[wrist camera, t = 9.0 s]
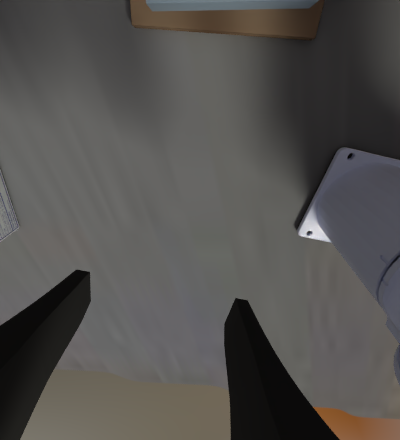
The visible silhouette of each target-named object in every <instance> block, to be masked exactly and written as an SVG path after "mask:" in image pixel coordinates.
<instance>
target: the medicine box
mask: <svg viewBox="0 0 400 440" xmlns="http://www.w3.org/2000/svg"><path fill="white" fill-rule="evenodd" d="M18 228H19V223H18V220H17V217H16V214H15V212H14V208H13V205H12V202H11V199H10V196H9V193H8V190H7V187H6V184H5V181H4V178H3V175H2V172H1V169H0V242H1V241H2V240H4V239H5V238H6V237H8V236H9V235H10V234H12V233H13V232H14V231H16V230H17V229H18Z"/></svg>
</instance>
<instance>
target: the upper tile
mask: <svg viewBox="0 0 400 440" xmlns="http://www.w3.org/2000/svg"><path fill="white" fill-rule="evenodd" d="M318 1H319V0H146V4H147V5H148V6H149V8H150V9H151V10H152V11H199V10H251V9H303V8H310V7H312V6H313V5H314V4H315V3H316V2H318Z"/></svg>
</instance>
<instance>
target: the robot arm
mask: <svg viewBox="0 0 400 440" xmlns="http://www.w3.org/2000/svg"><path fill="white" fill-rule="evenodd" d="M350 153H352V156H351V157H350V158H349V159H348V158H347V157H348V155H349V154H350ZM308 231H311V232H310V233H307V232H308ZM297 233H298V234H299V235H300V236H302V237H307V238H312V239H317V240H321V241H326V242H331V243H332V244H333V245H334V246H335V248H336V249H337V250H338V251H339V253H340V254H341V255H342V257H343V258H344V259H345V261H346V262H347V263H348V264H349V266H350V267H351V268H352V270H353V271H354V272H355V274H356V275H357V276H358V277H359V279H360V280H361V281H362V283H363V284H364V285H365V287H366V288H367V289H368V290H369V292H370V293H371V294H372V296H373V297H374V298H375V300H376V301H377V302H378V303H379V305H380V306H381V307H382V308H383V310H384V311H385V313H386V314H387V322H386V326H387V327H388V329H389V330H390V331H391V333H392V334H393V335H394V337H395V338H396V340H397V341H398V342H399V344H400V160H398V159H394V158H389V157H385V156H381V155H377V154H373V153H368V152H364V151H360V150H356V149H352V148H347V147H342V148H340V149H339V150H338V151H337V152H336V154H335V156H334V158H333V160H332V162H331V164H330V166H329V168H328V170H327V172H326V174H325V176H324V178H323V180H322V182H321V184H320V186H319V188H318V190H317V192H316V193H315V195H314V197H313V199H312V201H311V203H310V205H309V207H308V209H307V211H306V213H305V215H304V217H303V219H302V221H301V223H300V225H299V227H298V229H297ZM90 301H91V296H90V272H87V271H81V270H76V271H74V272H73V273H72V274H70V275H69V276H68V277H67V278H65V279H64V280H63V281H62V282H60V283H59V284H58V285H56V286H55V287H54V288H53V289H51V290H50V291H49V292H47V293H46V294H45V295H43V296H42V297H41V298H39V299H38V300H37V301H35V302H34V303H33V304H31V305H30V306H28V307H27V308H26V309H24V310H23V311H21V312H20V313H18V314H17V315H15V316H14V317H12V318H11V319H10V320H8V321H6V322H5V323H3V324H2V325H0V440H20V438H21V436H22V434H23V432H24V429H25V427H26V425H27V423H28V421H29V419H30V417H31V414H32V412H33V410H34V408H35V405H36V404H37V402H38V400H39V397H40V395H41V393H42V391H43V389H44V387H45V385H46V383H47V381H48V379H49V377H50V375H51V373H52V372H53V370H54V368H55V366H56V365H57V363H58V361H59V360H60V358H61V356H62V354H63V353H64V351H65V349H66V348H67V346H68V344H69V343H70V341H71V339H72V337H73V336H74V334H75V332H76V330H77V329H78V327H79V325H80V323H81V322H82V319H83V317H84V315H85V313H86V311H87V308H88V306H89V304H90ZM224 346H225V357H226V367H227V376H228V386H229V394H230V395H229V396H230V413H231V414H230V416H231V440H339V438H338V437H337V436H336V435H335V434H334V433H333V432H332V431H331V429H330V428H329V427H328V426H327V424H326V423H325V422H324V421H323V420H322V418H321V417H320V416H319V414H318V413H317V412H316V411H315V409H314V408H313V407H312V406H311V404H310V403H309V402H308V400H307V399H306V398H305V396H304V395H303V394H302V392H301V391H300V390H299V388H298V387H297V385H296V384H295V382H294V381H293V380H292V378H291V377H290V375H289V374H288V372H287V371H286V369H285V368H284V366H283V364H282V363H281V361H280V360H279V358H278V356H277V355H276V353H275V351H274V350H273V348H272V346H271V344H270V343H269V341H268V339H267V337H266V335H265V334H264V332H263V330H262V328H261V326H260V324H259V322H258V320H257V318H256V316H255V314H254V312H253V310H252V308H251V306H250V304H249V302H248V301H247V300H243V299H237V298H235V301H234V303H233V305H232V308H231V310H230V312H229V315H228V317H227V319H226V322H225V327H224ZM394 369H395V374H396V377H397V380H398V383H399V385H400V345H399V346H398V347H397V349H396V352H395V355H394Z"/></svg>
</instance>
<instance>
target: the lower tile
mask: <svg viewBox="0 0 400 440" xmlns="http://www.w3.org/2000/svg"><path fill="white" fill-rule="evenodd" d="M324 1H325V0H319V1H318V2H316V3H315V4H314V5H313V6H312V7H310V8H303V9H251V10H199V11H152V10H151V9H150V8H149V6H148V5H147V4H146V0H130V5H131V21H132V25H133V26H134V27H135V28H148V29H162V30H175V31H189V32H203V33H217V34H231V35H244V36H258V37H272V38H286V39H300V40H312V39H314V38H315V37H316V33H317V29H318V25H319V21H320V17H321V13H322V9H323V5H324Z"/></svg>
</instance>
